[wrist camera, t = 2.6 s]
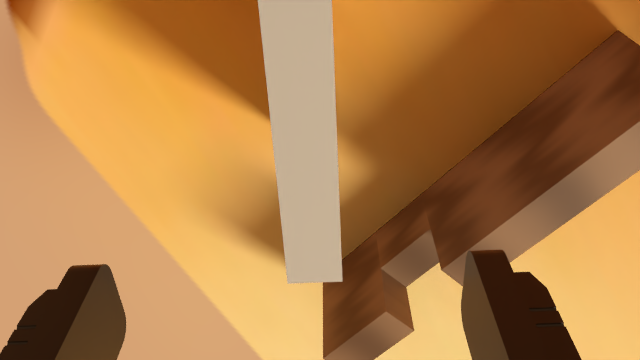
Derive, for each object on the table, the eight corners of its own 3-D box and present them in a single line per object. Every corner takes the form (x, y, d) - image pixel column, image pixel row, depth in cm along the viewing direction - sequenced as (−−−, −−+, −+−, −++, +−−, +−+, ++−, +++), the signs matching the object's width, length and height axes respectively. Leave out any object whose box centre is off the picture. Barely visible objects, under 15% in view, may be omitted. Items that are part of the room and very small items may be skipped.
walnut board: (618, 30, 34) (691, 82, 27) (641, 57, 35) (717, 114, 28) (322, 276, 44) (323, 358, 38) (346, 292, 45) (350, 375, 39)
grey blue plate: (272, -183, 29) (238, -184, 17) (323, -186, 28) (324, -189, 17) (298, 138, 38) (287, 283, 26) (336, 137, 38) (342, 281, 26)
